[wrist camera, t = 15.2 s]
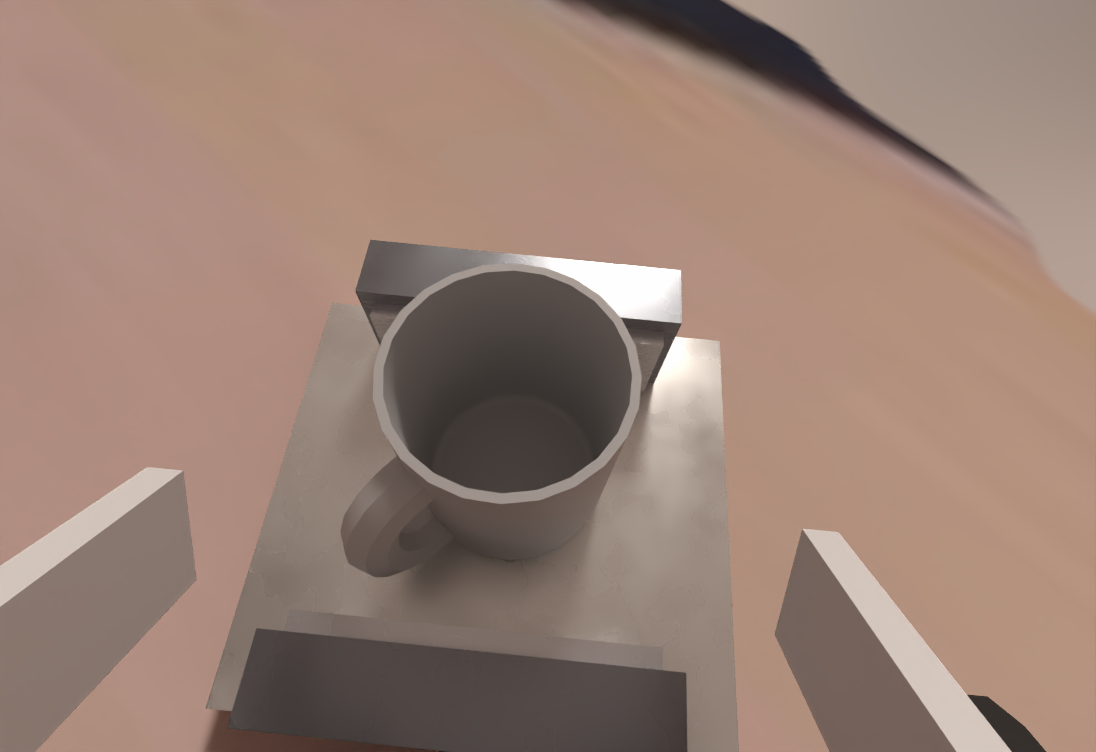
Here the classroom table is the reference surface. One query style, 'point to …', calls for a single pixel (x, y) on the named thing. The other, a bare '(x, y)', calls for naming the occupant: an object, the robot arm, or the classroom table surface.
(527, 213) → the classroom table surface
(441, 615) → the vise
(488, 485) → the cup
